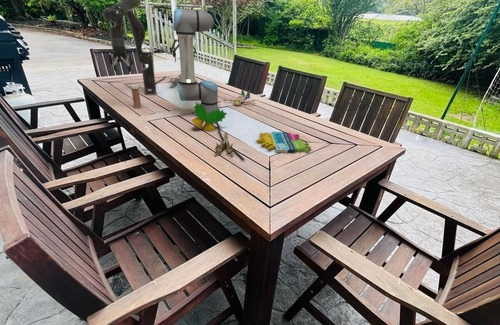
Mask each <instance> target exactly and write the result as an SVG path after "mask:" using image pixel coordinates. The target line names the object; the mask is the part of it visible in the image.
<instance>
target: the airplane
mask: <svg viewBox="0 0 500 325" xmlns="http://www.w3.org/2000/svg"><path fill="white" fill-rule="evenodd" d="M178 77H179V78H178ZM178 77H169V76H166V77H165V79H169V82H171V81H173V82H172V83H171V84H170V86H169V88H174V87H176V86H177V83H179V80H180V79H181V75H178Z"/></svg>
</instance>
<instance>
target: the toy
mask: <svg viewBox="0 0 500 325" xmlns="http://www.w3.org/2000/svg"><path fill="white" fill-rule="evenodd" d="M240 92H241V93H240V95H238V96H237V97H235V99H233V98H230V99H228V98H227V97H226V96H225V97H224V98H223V101H224V102H233V103H232V104H233V105H235V106H242V103H243V104H247V105H252V106H255V105H256V104H257V103H256V102H254V101H253V100H252V101H251V102H250V101H248V100H246V99H248V98H250V97H251V90H250V89H249V90H248V91H247V92H246V93H245V91H244V89H242V90H241V91H240Z"/></svg>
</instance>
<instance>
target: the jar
mask: <svg viewBox="0 0 500 325" xmlns="http://www.w3.org/2000/svg"><path fill="white" fill-rule="evenodd" d="M130 90H131V95H132V103H133V108H134V109H141V108H142V102H141V94H140V87H139V88H138V89H131V88H130Z"/></svg>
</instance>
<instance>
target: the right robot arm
mask: <svg viewBox="0 0 500 325" xmlns="http://www.w3.org/2000/svg"><path fill="white" fill-rule="evenodd" d="M172 20H173V22H172V23H173V24H172V30H173V31H174V32H175V35H176V37H177V39H176V38H174V39H173V43H172V46H171V48H170V53H172V57H173V58H174V62H177V57H176V56H177V54H176V52H177V50H179V63H180V76H181V79H180V80H179V83H177V85H176V86H177V90H178V91H177V92H178V95H179V99H180V100H181V101H183V102H184V101H185V102H192V101H193V102H194V101H195V102H196V101H198V102H199V101H200V104H201V106H204V109H206V112H208V113H211V112H212V110H214V111H216V110H217V109H219V111H221V110H220V108H219V102H218V99H219V98H218V97H219V94H218V93H219V88H218V84H217V83H216V82H215V81H213V80H207V79H206V80H205V79H202V80H200V81H199V82H198V80H197V79H196V77H195V76H196V75H195V54H196V53H197V50H196V48H195V46H194V38H195V37H196V33H203V32H207V31H210V30H211V29H212V28H213V26H214V22H215V20H214V17H213V15H212V14H210V13H209V12H207V11H205V10H201V9H188V8H175V9H174V10H173V19H172ZM176 43H178V44H177V45H176ZM208 113H207V115H208ZM215 124H216V125H217V130H218V133H219V136H220V138H221V141H222V140H223V141H224V136H223V134H222V133H221V128H220V126H221V125H220V124H219V122H218V123H215ZM233 153H234V154H235V155H237V156H238V157H239V158H240V159H241V160H242V161H245V158H244V157H243V156H242V155H241V154H240V153H239V152H238V151H237V150H235V149H234V148H233Z"/></svg>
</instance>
